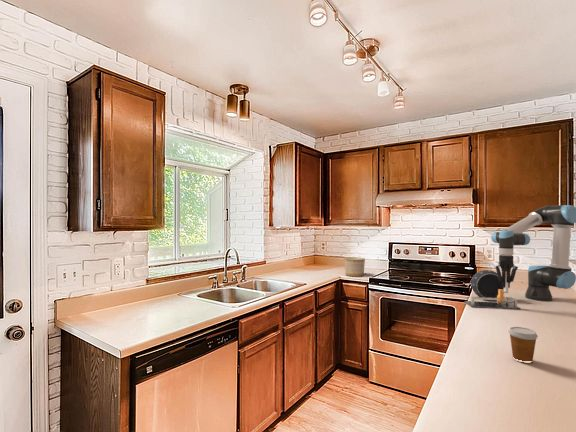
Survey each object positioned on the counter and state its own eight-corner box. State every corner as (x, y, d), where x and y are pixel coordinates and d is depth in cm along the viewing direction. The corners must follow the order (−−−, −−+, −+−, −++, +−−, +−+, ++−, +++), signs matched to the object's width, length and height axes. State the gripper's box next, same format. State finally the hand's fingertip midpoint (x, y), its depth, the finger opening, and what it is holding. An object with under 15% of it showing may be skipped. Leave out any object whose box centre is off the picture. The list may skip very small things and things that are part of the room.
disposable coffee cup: (502, 355, 137) (502, 326, 137) (524, 355, 138) (524, 326, 138) (520, 366, 128) (520, 334, 128) (543, 365, 128) (544, 334, 128)
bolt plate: (510, 304, 217) (510, 302, 217) (520, 309, 205) (520, 307, 205) (464, 302, 221) (464, 300, 221) (471, 307, 209) (471, 305, 209)
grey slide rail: (513, 306, 211) (513, 296, 211) (517, 308, 206) (517, 298, 206) (469, 304, 215) (469, 294, 215) (472, 307, 210) (472, 296, 210)
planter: (352, 272, 332) (352, 256, 332) (368, 275, 318) (368, 258, 318) (340, 275, 319) (340, 258, 319) (356, 278, 305) (356, 260, 305)
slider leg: (500, 304, 212) (500, 288, 212) (504, 306, 207) (504, 290, 207) (495, 303, 213) (495, 288, 213) (499, 306, 207) (499, 290, 207)
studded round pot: (507, 302, 222) (507, 272, 222) (474, 300, 226) (474, 271, 226) (500, 298, 233) (500, 269, 233) (469, 296, 237) (469, 268, 237)
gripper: (514, 254, 211) (514, 291, 211) (492, 254, 213) (491, 291, 213) (520, 256, 203) (520, 294, 204) (497, 255, 205) (497, 293, 205)
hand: (505, 292), depth 208 cm, fingers closed
